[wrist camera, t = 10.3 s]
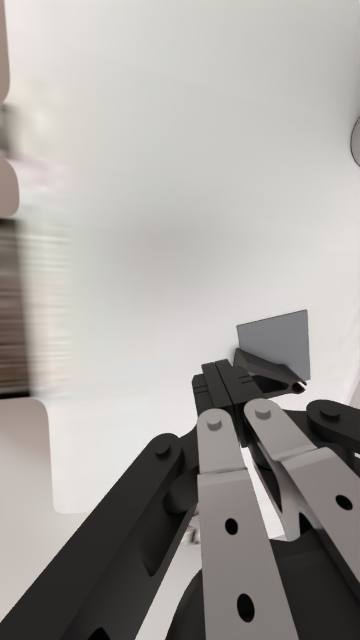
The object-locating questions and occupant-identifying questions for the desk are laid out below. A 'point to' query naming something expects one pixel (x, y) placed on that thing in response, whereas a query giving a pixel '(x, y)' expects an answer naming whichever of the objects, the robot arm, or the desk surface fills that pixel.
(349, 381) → the desk surface
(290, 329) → the mat
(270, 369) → the phone stand
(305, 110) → the desk surface
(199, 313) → the desk surface
